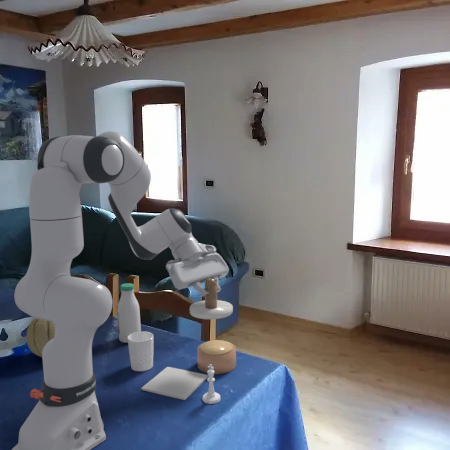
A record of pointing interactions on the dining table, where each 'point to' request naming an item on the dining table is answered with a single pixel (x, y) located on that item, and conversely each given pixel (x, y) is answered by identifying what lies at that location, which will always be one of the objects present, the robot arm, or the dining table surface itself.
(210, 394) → the chess piece
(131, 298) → the milk bottle
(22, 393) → the dining table surface
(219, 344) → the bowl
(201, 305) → the lid
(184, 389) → the mat
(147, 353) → the white cup
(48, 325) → the cantaloupe
